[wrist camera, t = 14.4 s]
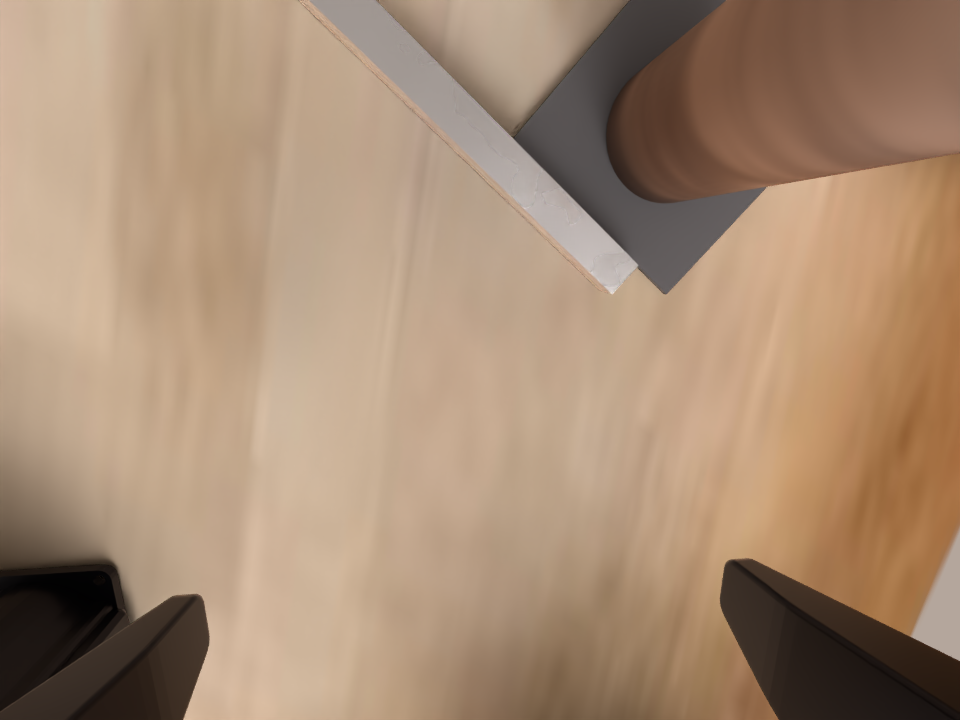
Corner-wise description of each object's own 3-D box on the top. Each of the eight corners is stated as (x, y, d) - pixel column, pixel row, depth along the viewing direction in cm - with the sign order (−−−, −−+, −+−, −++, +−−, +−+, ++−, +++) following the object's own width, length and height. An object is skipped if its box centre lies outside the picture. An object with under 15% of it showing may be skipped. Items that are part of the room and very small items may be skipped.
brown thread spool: (603, 204, 19) (934, 128, 7) (608, 59, 18) (1021, -362, 6) (726, 202, 20) (1246, 127, 7) (739, 61, 19) (1386, -321, 6)
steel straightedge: (235, -61, 16) (216, -90, 15) (262, -99, 16) (245, -131, 15) (599, 290, 21) (612, 294, 19) (623, 263, 20) (638, 265, 19)
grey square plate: (511, 140, 19) (512, 139, 19) (675, -54, 18) (679, -59, 17) (663, 293, 21) (666, 294, 21) (818, 127, 20) (823, 125, 20)
